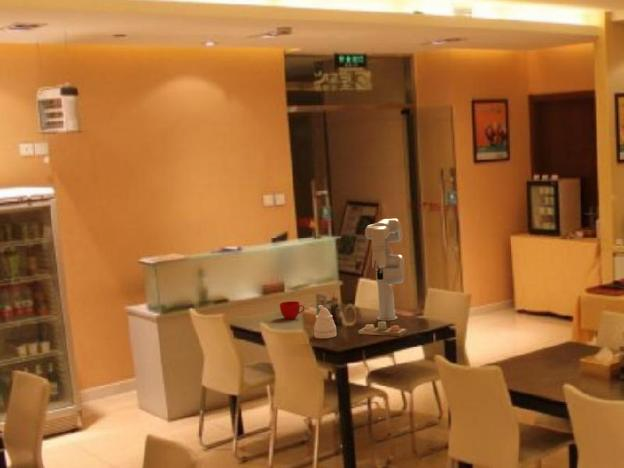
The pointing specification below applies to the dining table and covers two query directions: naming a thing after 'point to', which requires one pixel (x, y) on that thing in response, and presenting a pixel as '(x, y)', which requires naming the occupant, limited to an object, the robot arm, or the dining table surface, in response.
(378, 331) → the wooden panel frame
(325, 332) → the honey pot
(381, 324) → the button two
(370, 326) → the button one
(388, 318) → the robot arm
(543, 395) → the dining table surface
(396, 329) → the button three
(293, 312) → the ceramic cup
